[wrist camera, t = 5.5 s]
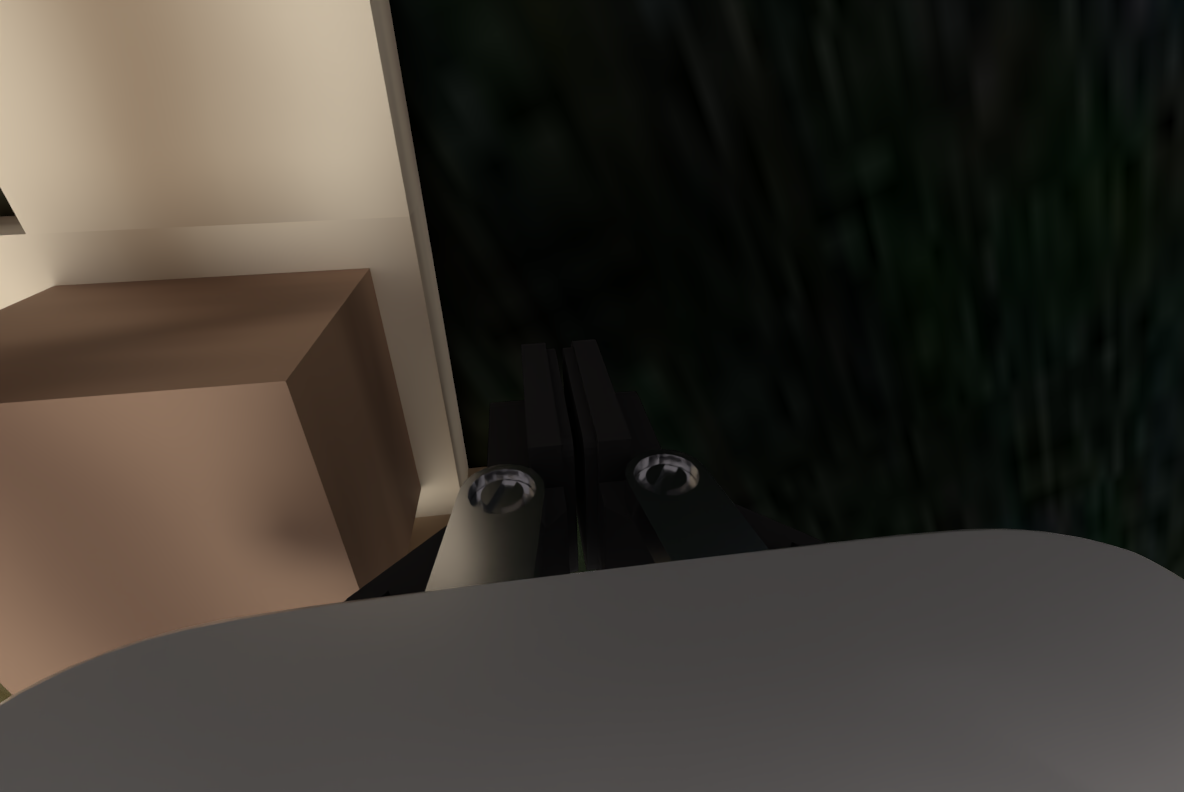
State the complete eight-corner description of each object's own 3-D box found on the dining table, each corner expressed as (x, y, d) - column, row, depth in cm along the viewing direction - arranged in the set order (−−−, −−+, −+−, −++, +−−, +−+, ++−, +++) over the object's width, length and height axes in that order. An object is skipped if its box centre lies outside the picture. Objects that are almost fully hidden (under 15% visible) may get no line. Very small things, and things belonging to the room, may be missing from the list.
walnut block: (369, 268, 11) (285, 381, 7) (421, 488, 14) (384, 662, 10) (54, 285, 10) (-258, 423, 6) (179, 513, 13) (28, 711, 9)
